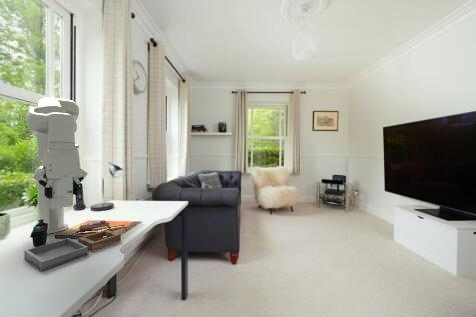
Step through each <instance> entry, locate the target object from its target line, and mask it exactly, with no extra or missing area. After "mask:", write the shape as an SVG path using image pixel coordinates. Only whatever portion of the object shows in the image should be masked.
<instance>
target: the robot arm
mask: <svg viewBox="0 0 476 317" xmlns="http://www.w3.org/2000/svg"><path fill="white" fill-rule="evenodd" d="M26 114H27V115H26V124H27V128H28V130H29V132H30V133H33V134H35V136H36V142H37V145H36V147H37V157H38V160H39V162H40V163H41V166H39V167H37V168H35V170H34V174H33V175H32V179H33V180H34V181H35V184H36V191H37V192H36V194H37V224H38V223H39V222H38V220H41V219H44V221H43V222H44V223H48V229H47V235H49V234H54V233H58V232H59V233H60V232H62V231H65V230H67V229H68V228H69V225H68V224H67V223H65V210H64V208H65V207H62V208H52V209H51V199H52V187H51V184H52V182H53V181H54V180H55V179H62V178H64V177H65V175H66V174H73V196H78V195H79V192H80V187H79V186H80V185H81V182H83V180H84V179H85V178H86V177H87V176H88V172H87V171H86V170H83V169H82V168H81V160H80V159H81V158H80V153H79V152H80V151H79V148H80V145H78V144H76V143H75V142H76V135H75V134H76V132H77V130H78V125H77V124H78V123H77V120H78V118H79V116H80V108H79V105H78V103H76V101H73V100H69V99H64V98H55V97H43V98H42V99H40V100H39V102H38V106H35V107H32V108H30V109H29V110H28V111H27V113H26Z"/></svg>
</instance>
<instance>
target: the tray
mask: <svg viewBox="0 0 476 317" xmlns="http://www.w3.org/2000/svg"><path fill="white" fill-rule="evenodd" d="M88 255H89V250H88V246H85V245H83V244H81V243H79V242H78V241H76V240H74V239H71V238H70V237H68V238H64V239H60V240H56V241H54V242H53V241H52V242H50V243H46V244H45V245H42V246H38V247H31V248H28V249H24V250H23V257H24V260H25V261H27V262H28V263H29V264H31V265H32V266H34V268H36V269H37V270H39V271H40V272H45V271H47V270H51V269H53V268H56V267H58V266H61V265H64V264H67V263H69V262H73V261H75V260H78V259H81V258H84V257H86V256H88Z"/></svg>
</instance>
